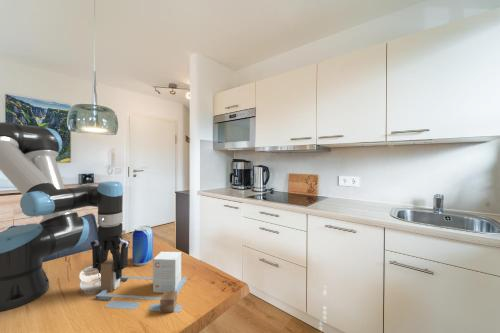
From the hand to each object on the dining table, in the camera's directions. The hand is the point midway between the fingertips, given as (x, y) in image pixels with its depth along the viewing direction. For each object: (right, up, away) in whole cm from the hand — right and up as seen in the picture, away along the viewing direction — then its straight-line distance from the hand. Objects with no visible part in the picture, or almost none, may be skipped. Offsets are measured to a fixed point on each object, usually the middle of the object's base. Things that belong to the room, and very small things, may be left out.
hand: (110, 286), depth 76 cm
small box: (+21, -1, 0) cm, 21 cm away
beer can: (+2, 0, +20) cm, 20 cm away
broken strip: (+18, -1, -11) cm, 21 cm away
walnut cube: (+26, 0, -11) cm, 28 cm away
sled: (+13, -1, -1) cm, 13 cm away
